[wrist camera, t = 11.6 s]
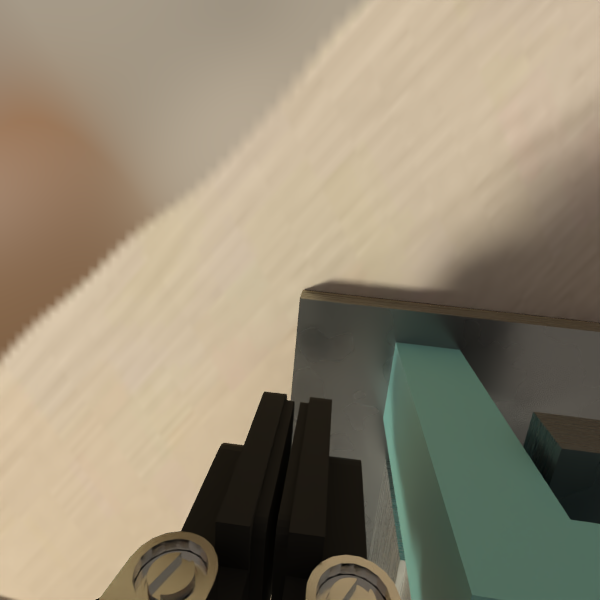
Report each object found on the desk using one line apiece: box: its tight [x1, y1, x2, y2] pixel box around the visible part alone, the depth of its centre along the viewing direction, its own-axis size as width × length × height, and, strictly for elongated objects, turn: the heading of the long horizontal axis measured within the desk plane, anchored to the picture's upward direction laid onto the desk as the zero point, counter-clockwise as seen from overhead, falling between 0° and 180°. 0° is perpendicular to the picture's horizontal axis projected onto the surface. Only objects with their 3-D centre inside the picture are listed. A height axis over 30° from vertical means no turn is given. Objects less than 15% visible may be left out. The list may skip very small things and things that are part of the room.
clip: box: [383, 342, 600, 600], centre depth 10 cm, size 3×5×8 cm, turn 85°
